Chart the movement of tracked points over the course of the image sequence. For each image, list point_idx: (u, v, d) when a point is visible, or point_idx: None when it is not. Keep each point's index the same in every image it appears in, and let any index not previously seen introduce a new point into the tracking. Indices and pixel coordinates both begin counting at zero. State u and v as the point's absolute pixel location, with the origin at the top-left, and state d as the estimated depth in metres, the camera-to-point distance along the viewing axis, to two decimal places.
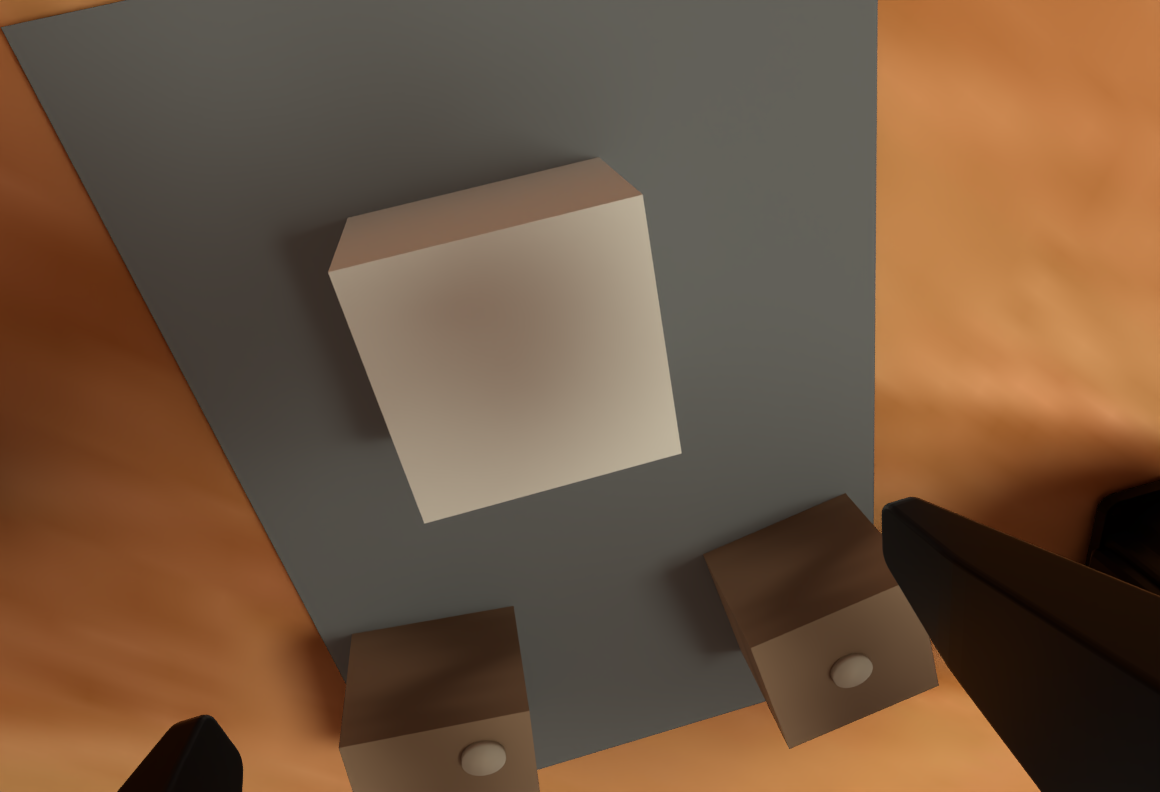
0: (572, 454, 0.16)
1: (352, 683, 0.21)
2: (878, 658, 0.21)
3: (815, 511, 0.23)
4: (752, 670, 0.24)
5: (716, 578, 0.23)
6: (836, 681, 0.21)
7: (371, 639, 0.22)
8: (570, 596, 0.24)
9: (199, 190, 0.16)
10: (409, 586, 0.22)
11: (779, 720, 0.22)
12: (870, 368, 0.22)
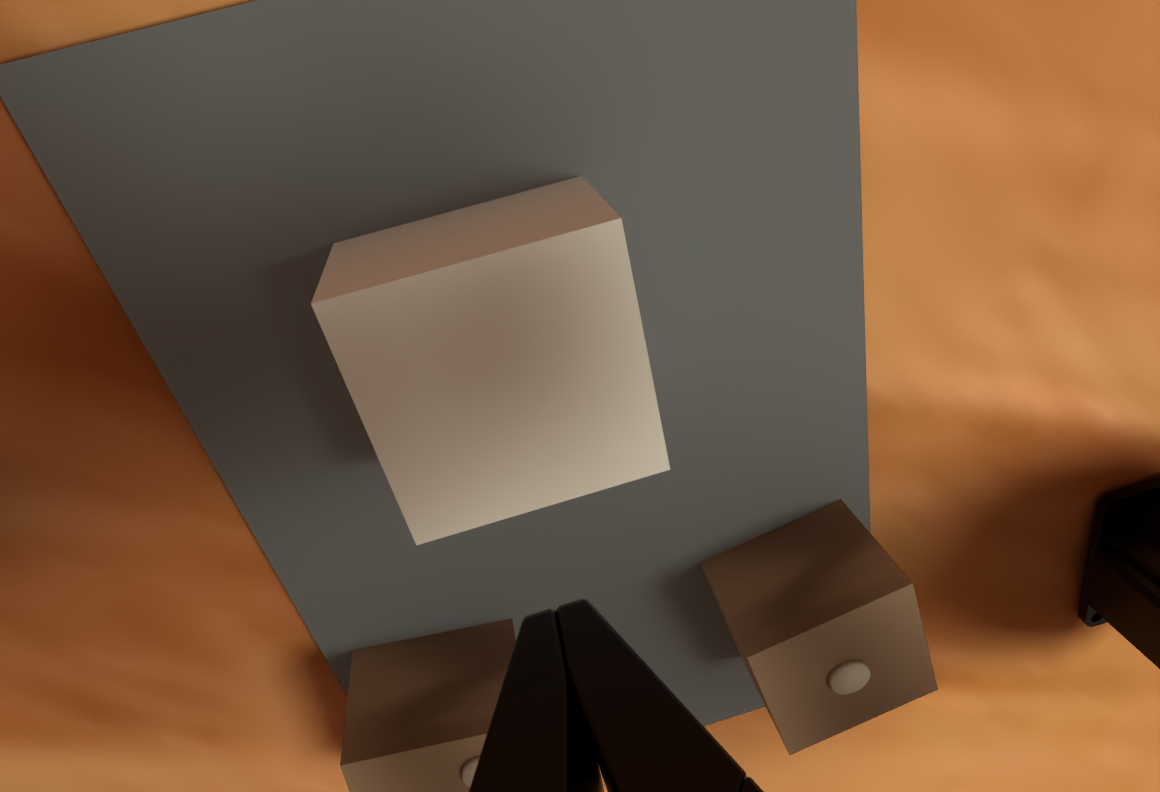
0: (561, 473, 0.16)
1: (353, 700, 0.21)
2: (875, 664, 0.22)
3: (811, 517, 0.24)
4: (752, 677, 0.24)
5: (713, 587, 0.23)
6: (834, 688, 0.21)
7: (371, 655, 0.23)
8: None
9: (185, 220, 0.16)
10: (407, 601, 0.22)
11: (778, 727, 0.22)
12: (861, 375, 0.22)
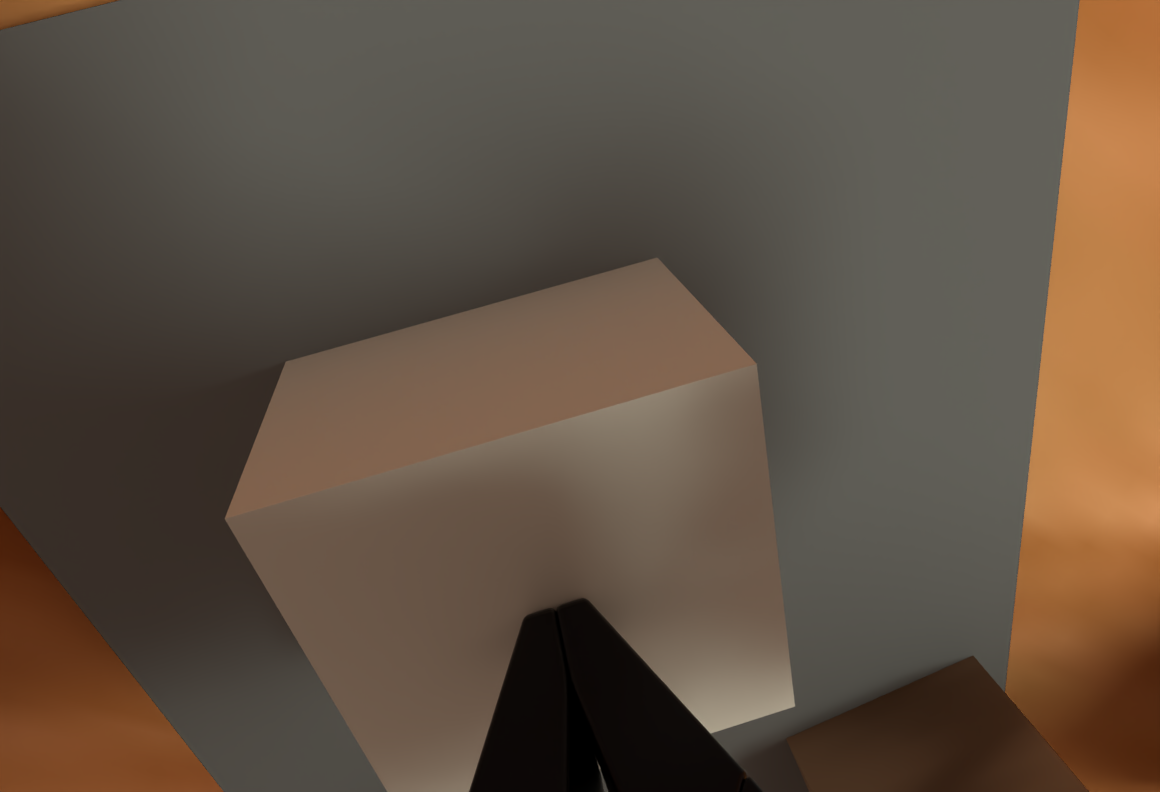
0: None
1: None
2: None
3: (934, 682, 0.18)
4: None
5: (809, 781, 0.17)
6: None
7: None
8: None
9: (54, 335, 0.10)
10: None
11: None
12: (1018, 507, 0.16)
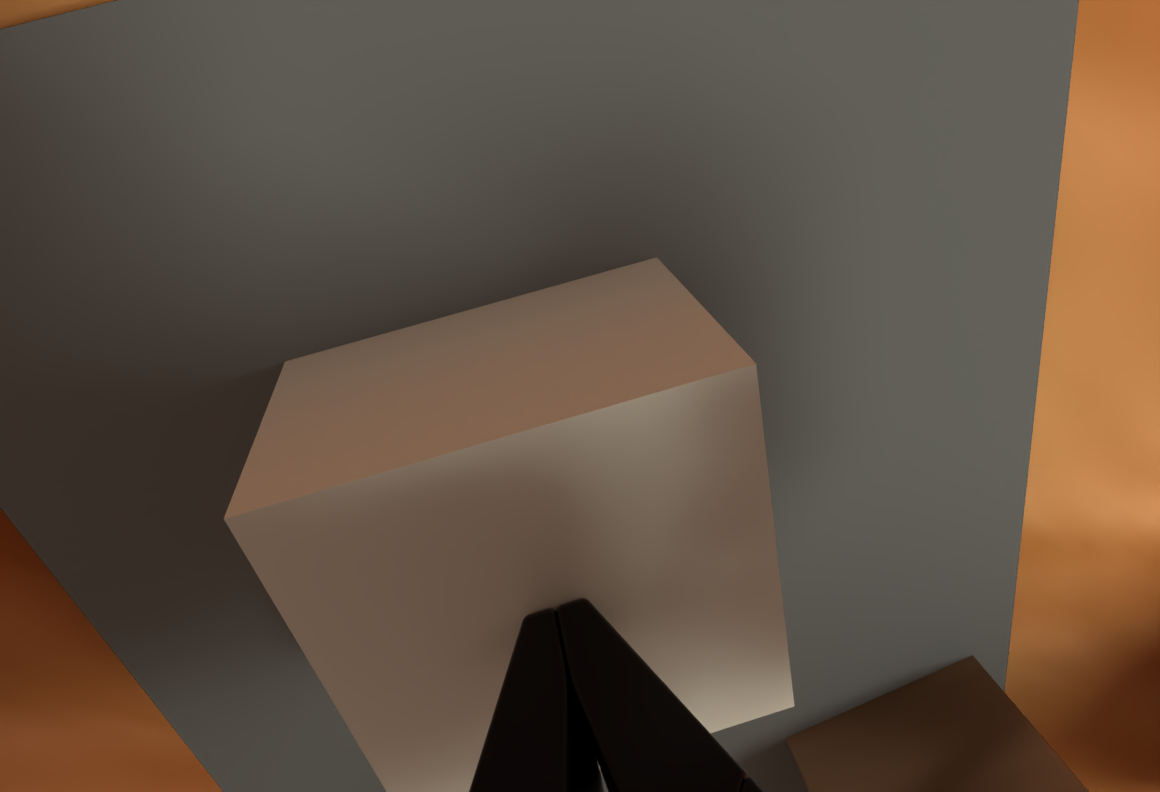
0: None
1: None
2: None
3: (934, 681, 0.18)
4: None
5: (808, 781, 0.17)
6: None
7: None
8: None
9: (53, 335, 0.10)
10: None
11: None
12: (1018, 507, 0.16)
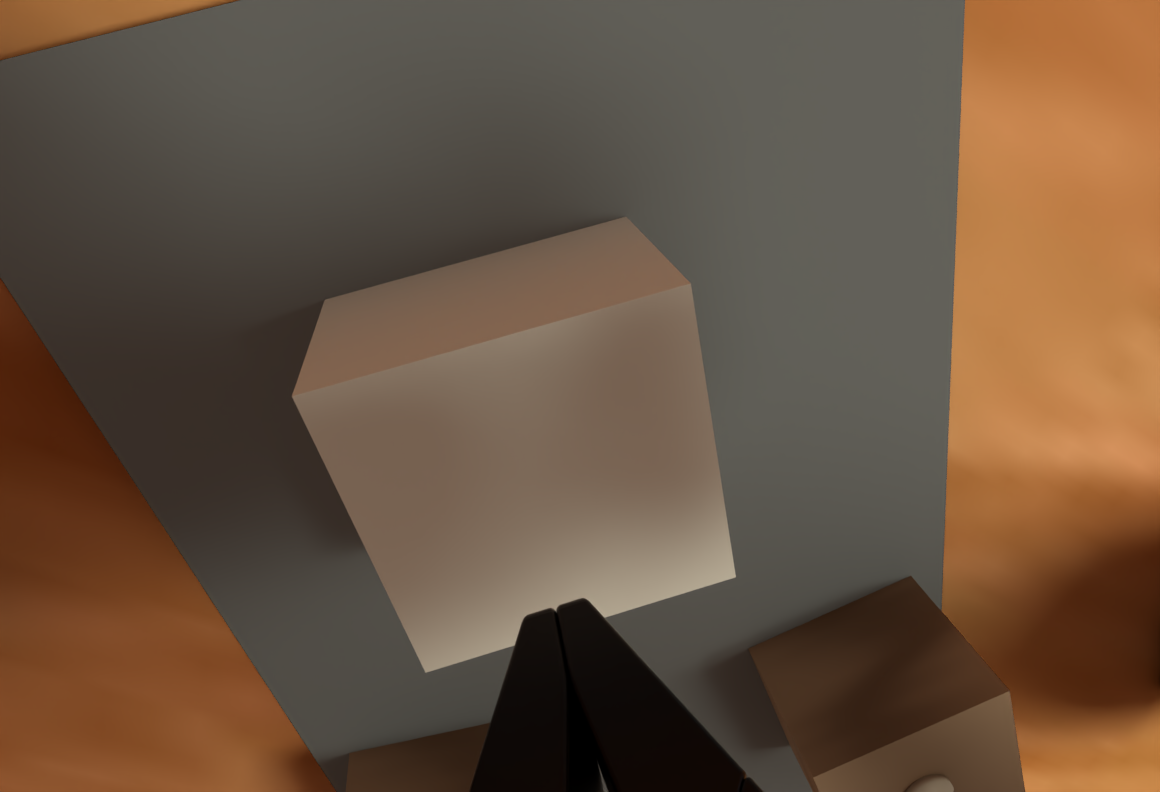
0: (604, 586, 0.13)
1: None
2: (959, 778, 0.18)
3: (877, 598, 0.20)
4: (806, 776, 0.21)
5: (766, 681, 0.20)
6: None
7: (371, 760, 0.19)
8: None
9: (142, 274, 0.13)
10: (413, 699, 0.19)
11: None
12: (943, 440, 0.19)
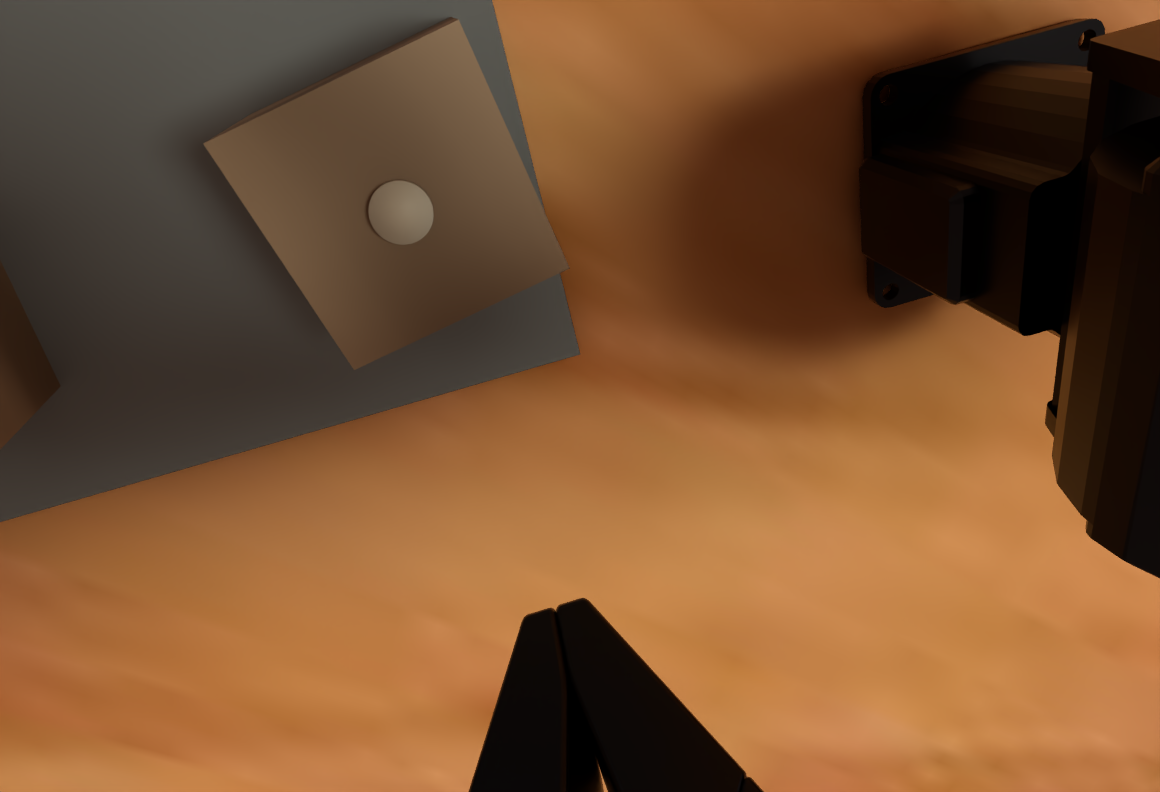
0: None
1: None
2: (445, 197, 0.14)
3: (403, 40, 0.16)
4: None
5: (240, 121, 0.15)
6: (376, 227, 0.14)
7: None
8: (54, 175, 0.16)
9: None
10: None
11: (316, 310, 0.15)
12: None
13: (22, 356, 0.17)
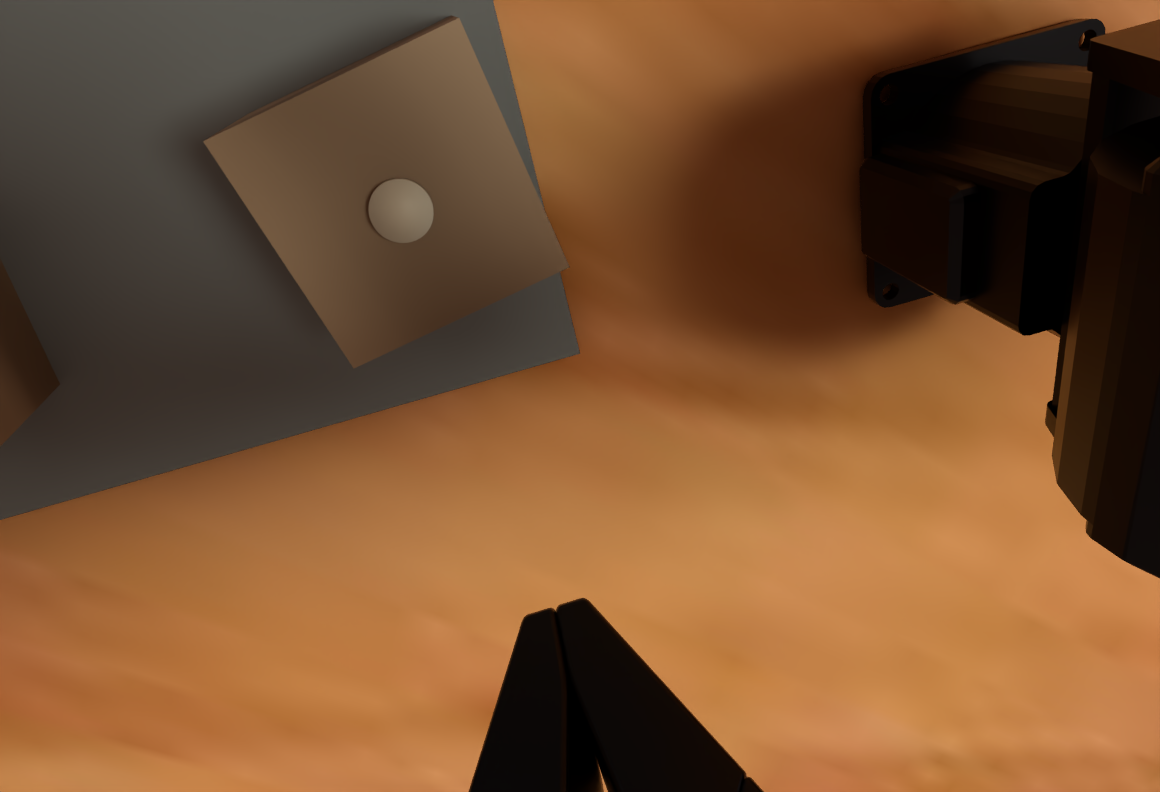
0: None
1: None
2: (445, 195, 0.14)
3: None
4: None
5: (240, 119, 0.15)
6: (376, 225, 0.14)
7: None
8: (54, 173, 0.16)
9: None
10: None
11: (316, 308, 0.15)
12: None
13: (21, 354, 0.17)
